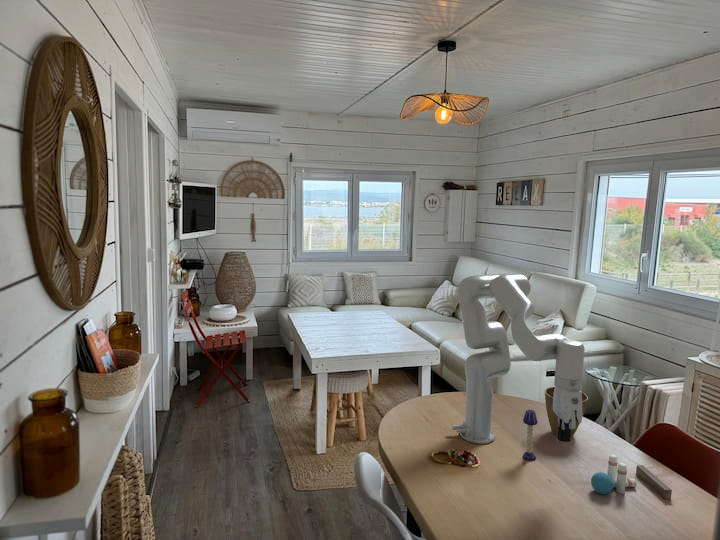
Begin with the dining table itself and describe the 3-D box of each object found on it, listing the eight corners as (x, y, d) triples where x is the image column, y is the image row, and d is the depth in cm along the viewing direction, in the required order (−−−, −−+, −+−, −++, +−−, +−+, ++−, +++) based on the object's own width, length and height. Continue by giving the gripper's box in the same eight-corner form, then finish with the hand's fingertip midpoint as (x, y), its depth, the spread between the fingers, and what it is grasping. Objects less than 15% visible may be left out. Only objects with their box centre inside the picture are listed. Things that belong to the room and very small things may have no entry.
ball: (615, 498, 147) (593, 497, 149) (610, 480, 152) (589, 479, 154) (615, 486, 144) (592, 485, 146) (611, 468, 149) (589, 467, 151)
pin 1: (609, 484, 154) (611, 458, 153) (605, 479, 156) (607, 454, 155) (617, 484, 154) (619, 458, 153) (612, 479, 156) (615, 454, 155)
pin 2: (618, 493, 149) (620, 467, 148) (613, 489, 151) (616, 462, 150) (626, 493, 149) (629, 466, 148) (621, 488, 151) (624, 462, 150)
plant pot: (541, 439, 183) (544, 397, 181) (542, 423, 197) (545, 384, 195) (586, 446, 178) (589, 404, 176) (583, 429, 192) (586, 389, 190)
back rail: (664, 499, 146) (665, 490, 146) (635, 474, 160) (636, 465, 160) (670, 499, 146) (671, 489, 146) (641, 473, 160) (642, 465, 160)
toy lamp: (528, 462, 166) (531, 414, 164) (517, 456, 170) (520, 409, 168) (538, 459, 169) (541, 412, 166) (528, 453, 173) (531, 407, 170)
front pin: (610, 482, 151) (637, 482, 151) (605, 477, 153) (632, 476, 154) (608, 489, 151) (635, 489, 152) (604, 484, 154) (631, 483, 154)
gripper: (593, 391, 140) (588, 452, 143) (568, 373, 155) (564, 429, 157) (567, 391, 140) (562, 453, 142) (545, 373, 155) (541, 429, 157)
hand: (563, 440), depth 150 cm, fingers closed
